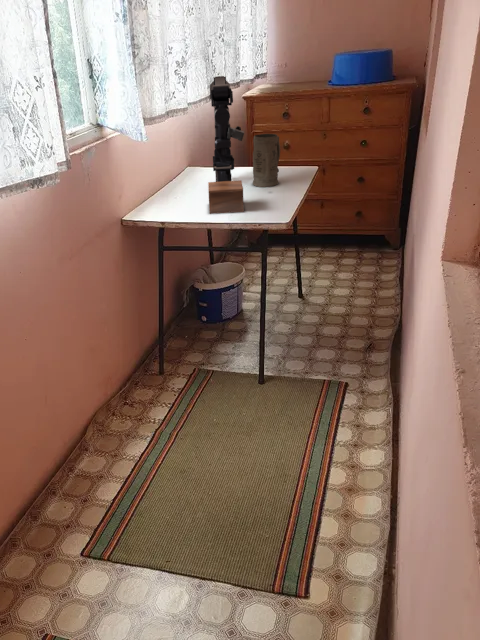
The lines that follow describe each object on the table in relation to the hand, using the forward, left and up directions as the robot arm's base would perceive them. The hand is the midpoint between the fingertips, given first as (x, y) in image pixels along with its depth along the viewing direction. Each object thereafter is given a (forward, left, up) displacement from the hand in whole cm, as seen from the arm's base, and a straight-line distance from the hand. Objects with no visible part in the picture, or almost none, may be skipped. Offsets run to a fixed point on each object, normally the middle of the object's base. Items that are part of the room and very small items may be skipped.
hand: (223, 163), depth 241 cm
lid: (+15, -15, -4) cm, 22 cm away
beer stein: (+3, +24, -12) cm, 27 cm away
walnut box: (+15, -15, -12) cm, 25 cm away
